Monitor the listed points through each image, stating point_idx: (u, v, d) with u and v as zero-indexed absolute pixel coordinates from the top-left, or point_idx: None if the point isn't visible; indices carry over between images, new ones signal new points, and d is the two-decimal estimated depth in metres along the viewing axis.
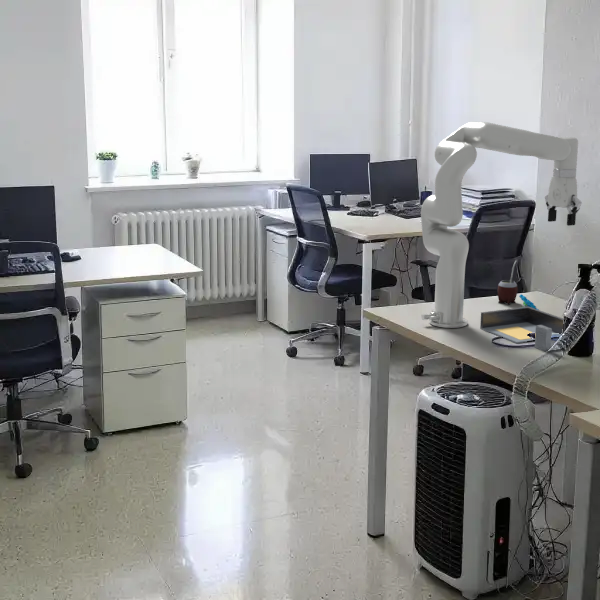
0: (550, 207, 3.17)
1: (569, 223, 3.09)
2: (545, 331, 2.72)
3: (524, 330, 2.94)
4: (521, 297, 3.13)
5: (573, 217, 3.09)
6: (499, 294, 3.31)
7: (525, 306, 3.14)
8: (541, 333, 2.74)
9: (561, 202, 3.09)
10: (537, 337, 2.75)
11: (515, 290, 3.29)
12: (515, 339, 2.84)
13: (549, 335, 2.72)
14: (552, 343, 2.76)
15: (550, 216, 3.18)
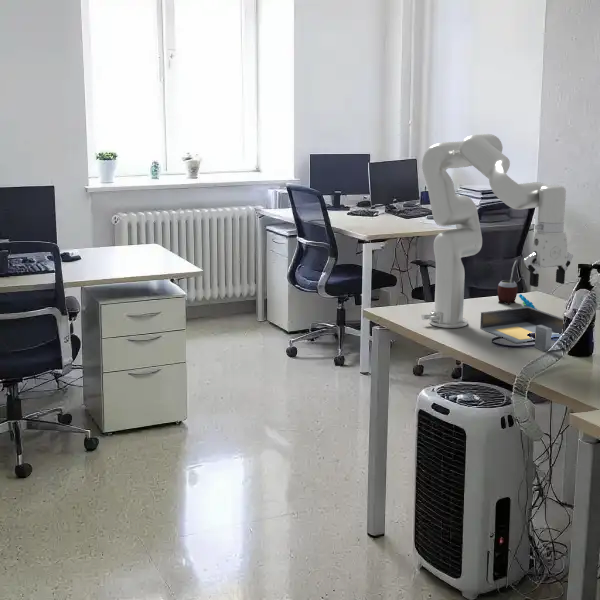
0: (538, 270, 2.66)
1: None
2: (545, 331, 2.72)
3: (524, 330, 2.94)
4: (520, 297, 3.13)
5: None
6: (499, 294, 3.31)
7: (524, 306, 3.14)
8: (541, 333, 2.74)
9: (561, 260, 2.67)
10: (537, 337, 2.75)
11: (515, 290, 3.29)
12: (515, 339, 2.84)
13: (549, 335, 2.72)
14: (552, 343, 2.76)
15: None
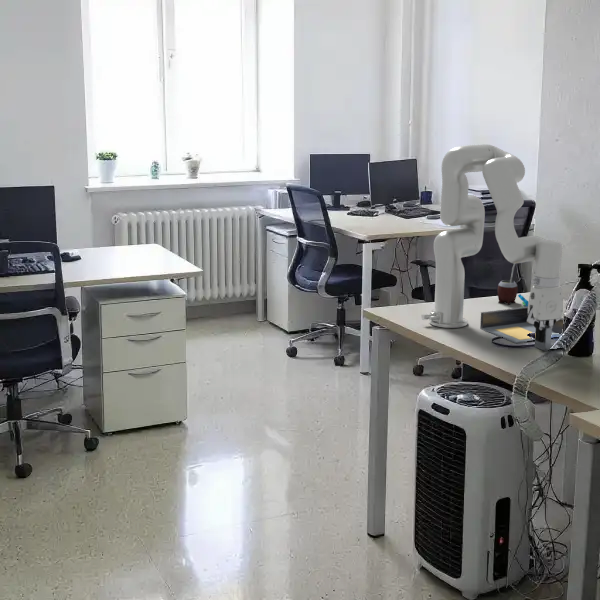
0: (542, 324, 2.72)
1: None
2: (545, 331, 2.72)
3: (524, 330, 2.94)
4: (519, 297, 3.14)
5: None
6: (499, 294, 3.31)
7: (523, 306, 3.14)
8: None
9: (557, 313, 2.71)
10: None
11: (515, 290, 3.29)
12: (515, 339, 2.84)
13: (549, 334, 2.72)
14: (552, 342, 2.76)
15: None
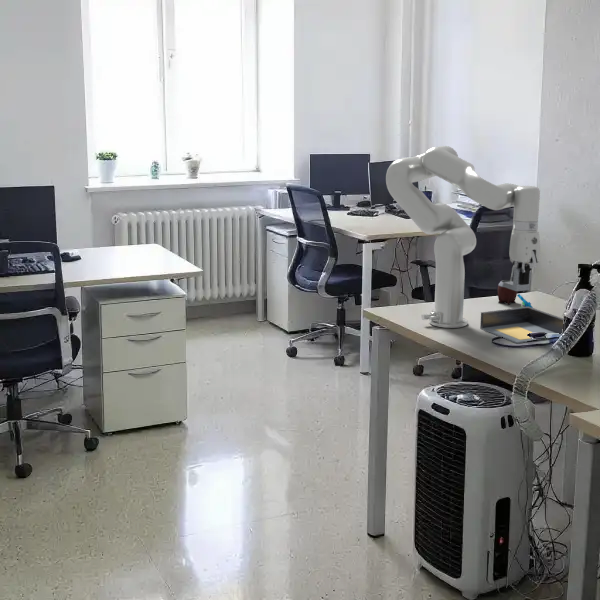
0: None
1: None
2: None
3: (524, 330, 2.94)
4: None
5: None
6: (499, 294, 3.31)
7: (523, 306, 3.14)
8: None
9: None
10: None
11: None
12: (515, 339, 2.84)
13: None
14: None
15: None
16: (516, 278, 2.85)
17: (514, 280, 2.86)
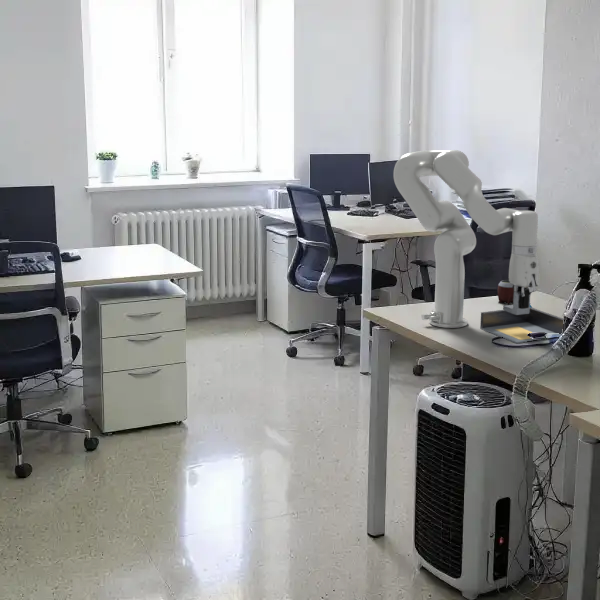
0: None
1: None
2: None
3: (524, 330, 2.94)
4: None
5: None
6: (499, 294, 3.31)
7: None
8: None
9: None
10: None
11: None
12: (515, 339, 2.84)
13: None
14: None
15: None
16: (516, 302, 2.87)
17: (514, 304, 2.88)
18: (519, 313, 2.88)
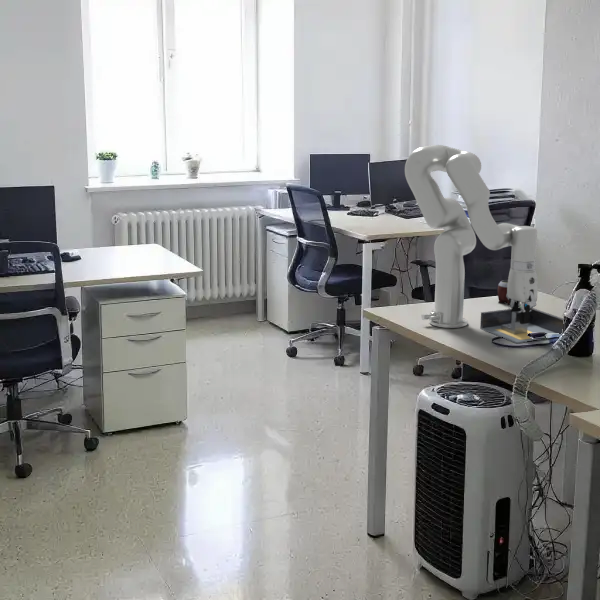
0: None
1: None
2: None
3: None
4: None
5: None
6: (499, 294, 3.31)
7: (521, 306, 3.15)
8: None
9: None
10: (518, 323, 2.89)
11: None
12: (515, 339, 2.84)
13: None
14: None
15: None
16: (514, 322, 2.88)
17: (512, 324, 2.90)
18: (517, 333, 2.89)
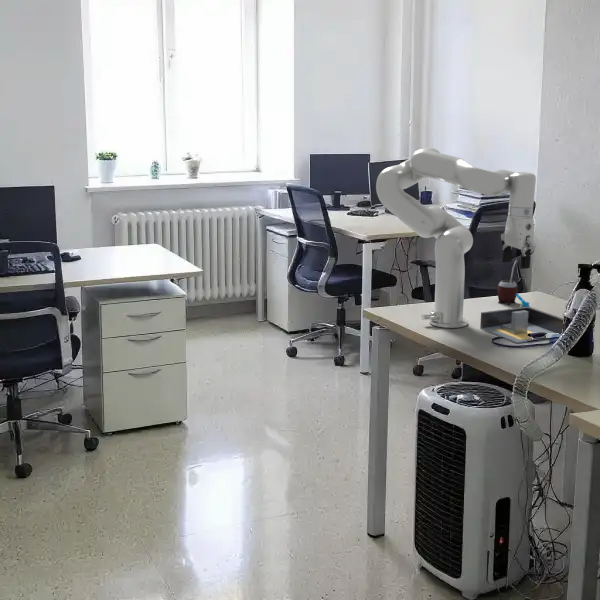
0: None
1: None
2: (527, 314, 2.89)
3: None
4: (517, 296, 3.14)
5: None
6: (499, 294, 3.31)
7: (521, 306, 3.15)
8: (522, 317, 2.89)
9: None
10: (518, 323, 2.89)
11: (515, 290, 3.29)
12: (515, 339, 2.84)
13: None
14: None
15: None
16: (514, 322, 2.88)
17: (512, 324, 2.90)
18: (517, 333, 2.89)
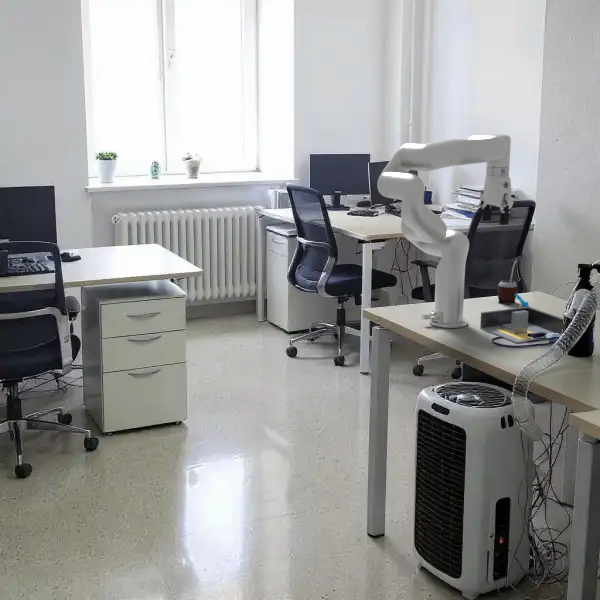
0: None
1: None
2: (527, 314, 2.89)
3: None
4: (516, 296, 3.14)
5: None
6: (499, 294, 3.31)
7: (520, 305, 3.15)
8: (522, 317, 2.89)
9: None
10: (518, 323, 2.89)
11: (515, 290, 3.29)
12: (515, 339, 2.84)
13: None
14: None
15: None
16: (514, 322, 2.88)
17: (512, 324, 2.90)
18: (517, 333, 2.89)
